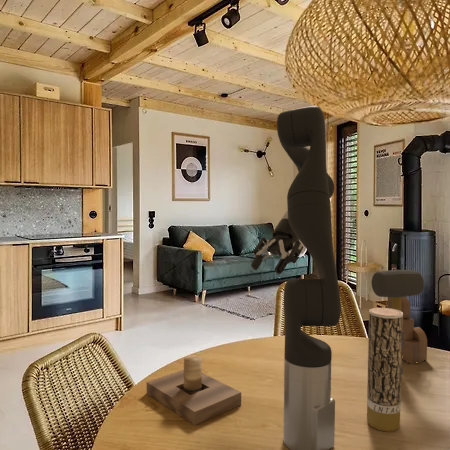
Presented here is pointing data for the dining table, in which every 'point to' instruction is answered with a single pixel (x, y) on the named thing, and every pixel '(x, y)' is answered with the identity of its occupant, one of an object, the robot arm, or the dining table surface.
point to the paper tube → (384, 368)
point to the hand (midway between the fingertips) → (264, 270)
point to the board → (194, 397)
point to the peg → (192, 374)
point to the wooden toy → (411, 335)
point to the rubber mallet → (397, 286)
